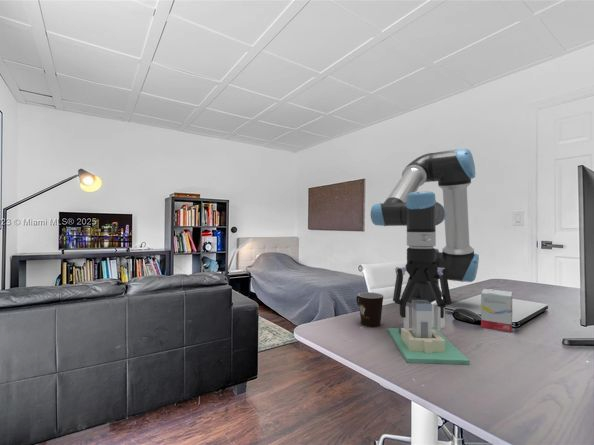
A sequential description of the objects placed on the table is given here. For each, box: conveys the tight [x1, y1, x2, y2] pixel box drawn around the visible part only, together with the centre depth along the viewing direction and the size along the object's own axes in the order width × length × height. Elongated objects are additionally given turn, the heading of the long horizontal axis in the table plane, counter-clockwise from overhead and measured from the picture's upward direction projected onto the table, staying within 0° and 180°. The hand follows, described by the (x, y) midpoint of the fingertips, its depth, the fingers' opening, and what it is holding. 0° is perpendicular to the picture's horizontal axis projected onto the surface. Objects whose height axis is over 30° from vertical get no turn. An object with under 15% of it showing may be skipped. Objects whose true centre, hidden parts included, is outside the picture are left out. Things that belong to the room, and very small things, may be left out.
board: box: [387, 323, 470, 365], centre depth 85 cm, size 22×15×4 cm
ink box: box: [480, 288, 513, 333], centre depth 100 cm, size 9×9×12 cm
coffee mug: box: [356, 291, 384, 328], centre depth 105 cm, size 12×9×10 cm
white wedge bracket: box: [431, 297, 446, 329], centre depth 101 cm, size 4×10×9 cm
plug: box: [411, 300, 433, 338], centre depth 83 cm, size 4×4×12 cm
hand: (421, 328), depth 83 cm, fingers open, 8 cm apart
